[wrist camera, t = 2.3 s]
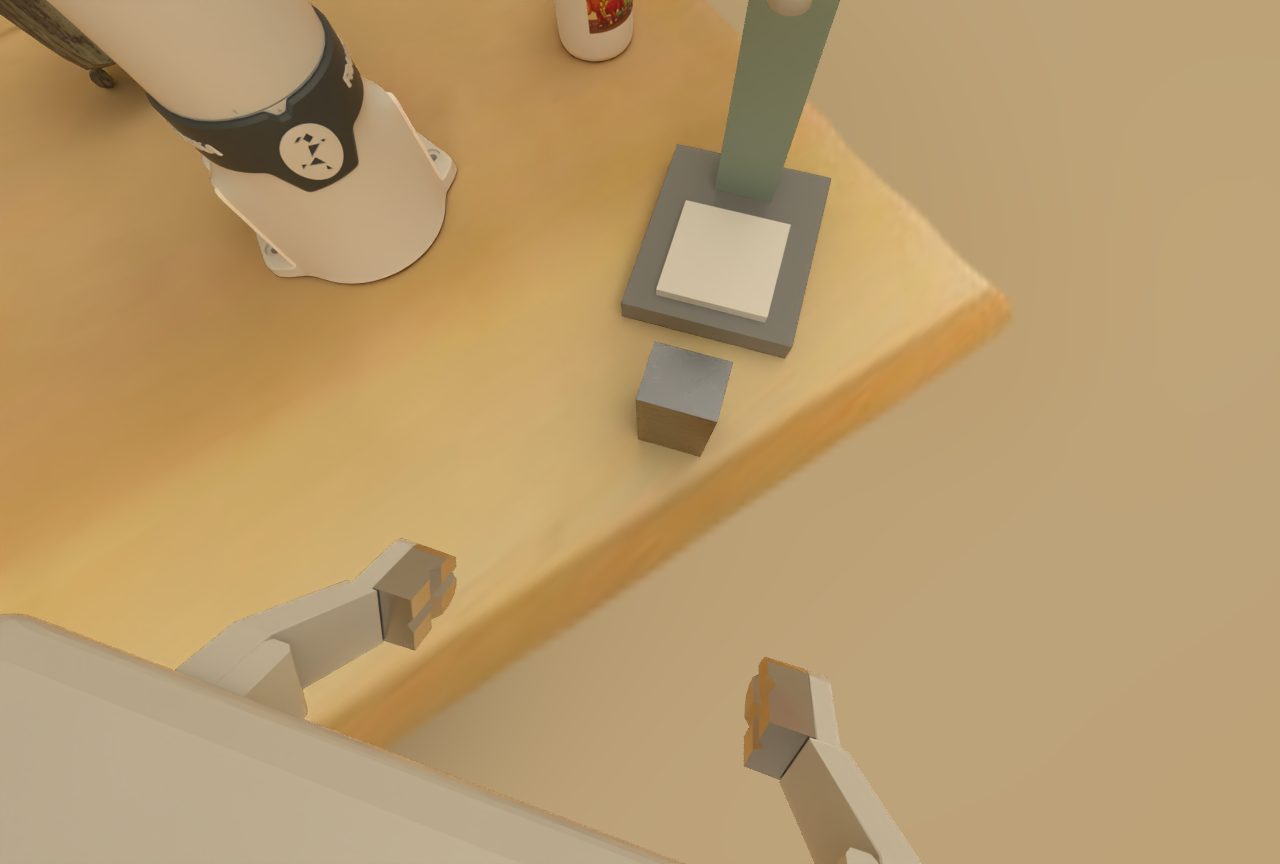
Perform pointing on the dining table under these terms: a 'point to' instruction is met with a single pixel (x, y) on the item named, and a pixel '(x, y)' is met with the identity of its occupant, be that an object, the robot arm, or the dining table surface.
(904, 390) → the dining table surface
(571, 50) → the milk bottle
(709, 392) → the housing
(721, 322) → the press
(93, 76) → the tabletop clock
